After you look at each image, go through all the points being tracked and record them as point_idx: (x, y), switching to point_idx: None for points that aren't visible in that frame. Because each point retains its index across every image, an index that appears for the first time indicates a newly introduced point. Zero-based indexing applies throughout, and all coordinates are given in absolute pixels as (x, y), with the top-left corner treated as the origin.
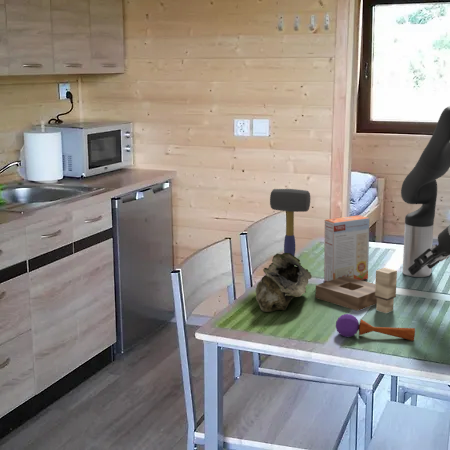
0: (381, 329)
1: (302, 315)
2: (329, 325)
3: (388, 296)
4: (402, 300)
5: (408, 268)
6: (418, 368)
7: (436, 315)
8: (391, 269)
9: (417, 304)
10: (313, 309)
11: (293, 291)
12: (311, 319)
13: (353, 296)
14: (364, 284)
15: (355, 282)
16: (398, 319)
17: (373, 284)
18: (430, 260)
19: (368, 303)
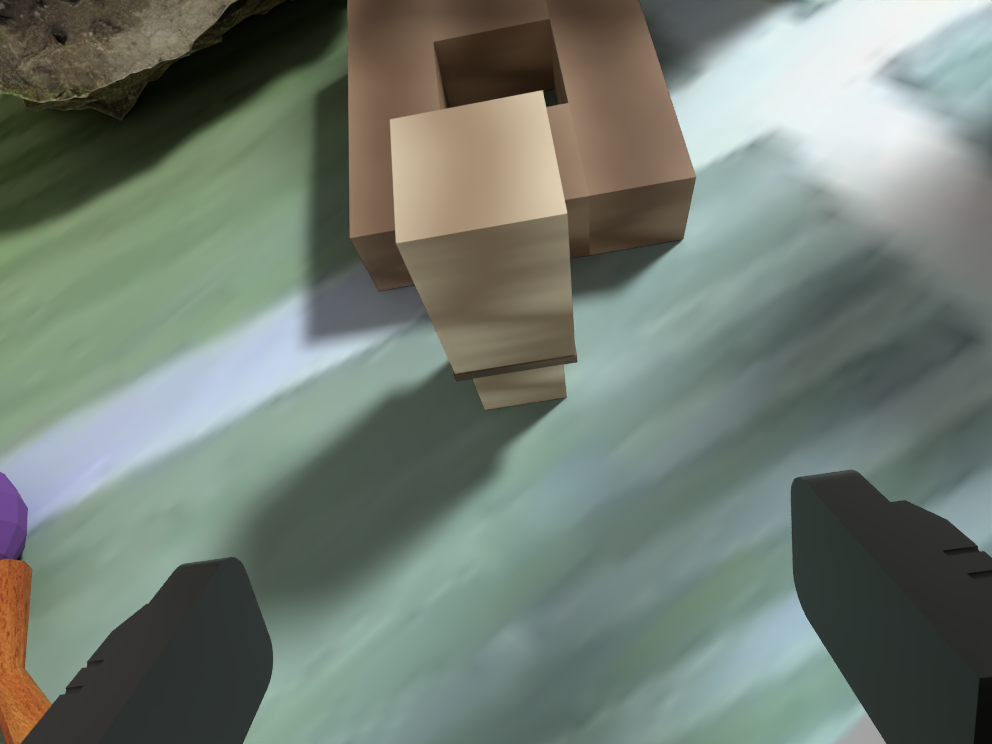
0: (5, 741)
1: (118, 201)
2: (74, 373)
3: (467, 364)
4: (778, 293)
5: (181, 568)
6: None
7: (779, 670)
8: (546, 162)
9: (821, 404)
10: (226, 165)
11: (53, 52)
12: (96, 261)
13: (350, 205)
14: (599, 77)
15: (579, 32)
16: (456, 543)
17: (653, 99)
18: (859, 580)
19: None
